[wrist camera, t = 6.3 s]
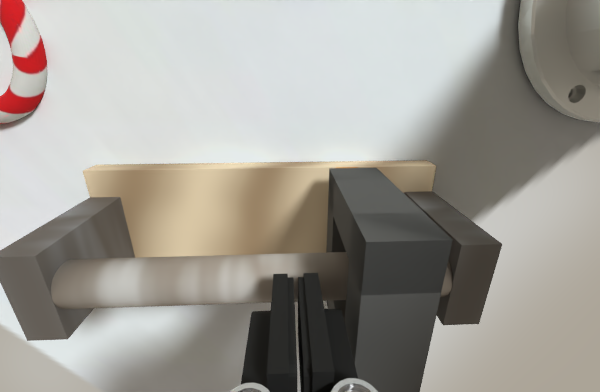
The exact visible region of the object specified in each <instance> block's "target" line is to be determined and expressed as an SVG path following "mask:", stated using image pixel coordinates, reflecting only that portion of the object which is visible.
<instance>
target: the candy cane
mask: <svg viewBox="0 0 600 392" xmlns="http://www.w3.org/2000/svg"><path fill="white" fill-rule="evenodd" d="M0 23H1V24H2V26H3V28H4V31H5V33H6V35H7V38H8V41H9V44H10V48H11V52H12V59H13V74H12V79H11V82H10V85H9V87H8V89H7V91H6V92H5V93H4V94H3V95H2V96H0V124H4V123H9V122H12V121H15V120H18V119H20V118H22V117H25V116H27V115H28V114H30V113H31V112H33V111H34V110H35V108H36V107H37V105H38V104H39V103H40V101H41V99H42V96H43V94H44V91H45V87H46V81H47V60H46V54H45V49H44V45H43V41H42V38H41V36H40V33H39V30H38V28H37V26H36V24H35V22H34V20H33V17H32V16H31V14H30V12H29V11H28V9H27V7H26V6H25V4H24V3H23V1H22V0H0Z"/></svg>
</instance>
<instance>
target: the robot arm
mask: <svg viewBox="0 0 600 392" xmlns="http://www.w3.org/2000/svg"><path fill="white" fill-rule="evenodd" d="M518 30H519V49H520V53H521V57H522V61H523V65H524V69H525V72H526V74H527V76H528V78H529V80H530V82H531V84H532V86H533V88H534V89H535V91H536V92H537V93H538V94H539V95H540V96H541V97H542V99H543V100H544V101H545V102H546V103H547V104H548V105H550V106H551V107H553V108H554V109H556V110H557V111H559V112H560V113H562V114H564V115H567V116H570V117H573V118H576V119H579V120H585V121H592V122H599V123H600V0H521V4H520V13H519V21H518ZM298 341H299V362H300V383H301V392H378V391H377V390H376V389H375V388H374V387H373V386H372V385H371V384H369V383H367V382H365V381H364V380H360V379H358V376H357V372H356V368H355V364H354V360H353V355H352V351H351V347H350V343H349V339H348V335H347V331H346V327H345V322H344V318H343V314H342V311H341V309H324V306H323V300H322V294H321V288H320V282H319V276H318V273H303V277H298ZM230 392H297V357H296V331H295V304H294V278H293V277H288V274H273V287H272V302H271V311H255V312H252V314H251V320H250V327H249V334H248V341H247V347H246V354H245V361H244V368H243V374H242V381H241V385H239V386H237V387H235V388H234V389H232V390H231V391H230Z"/></svg>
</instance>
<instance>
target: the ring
mask: <svg viewBox="0 0 600 392" xmlns="http://www.w3.org/2000/svg"><path fill="white" fill-rule="evenodd" d="M452 241H453V240H452V239H451V238H450V237H449V236H448V235H447V234H446V233H445V232H444V231H443V230H442V229H441V228H440V227H439V226H438V225H437V224H436V223H434V222H433V221H432V220H431V219H430V218H429V217H428V216H427V215H426V214H425V213H424V212H423V211H422V210H421V209H420V208H419V207H418V206H417V205H415V204H414V203H413V202H412V201H411V200H410V199H409V198H408V197H407V196H406V195H405V194H404V193H403V192H402V191H401V190H400V189H399V188H398V187H396V186H395V185H394V184H393V183H392V182H391V181H390V180H389V179H388V178H387V177H386V176H385V175H384V174H383V173H382V172H381V171H380V170H379V169H378V168H329V192H328V219H327V247H326V253H328V252H346V253H347V256H348V259H349V267H348V281H347V295H346V300H327V305H328V309H341V311H342V314H343V318H344V322H345V327H346V331H347V335H348V339H349V343H350V347H351V351H352V355H353V360H354V364H355V368H356V372H357V376H358V379H360V380H364V381H365V382H367V383H369V384H371V385H372V386H373V387H374V388H375V389H376V390H377V391H378V392H420V387H421V383H422V377H423V373H424V368H425V364H426V359H427V355H428V351H429V346H430V341H431V337H432V332H433V328H434V323H435V319H436V314H437V310H438V305H439V300H440V296H441V291H442V287H443V282H444V278H445V273H446V269H447V264H448V259H449V255H450V250H451V246H452Z"/></svg>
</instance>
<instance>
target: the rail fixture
mask: <svg viewBox="0 0 600 392" xmlns="http://www.w3.org/2000/svg"><path fill="white" fill-rule="evenodd" d="M329 168H378V169H379V170H380V171H381V172H382V173H383V174H384V175H385V176H386V177H387V178H388V179H389V180H390V181H391V182H392V183H393V184H394V185H395V186H396V187H398V188H399V189H400V190H401V191H402V192H403V193H404V194H405V195H406V196H407V197H408V198H409V199H410V200H411V201H412V202H413V203H414V204H415V205H417V206H418V207H419V208H420V209H421V210H422V211H423V212H424V213H425V214H426V215H427V216H428V217H429V218H430V219H431V220H432V221H433V222H434V223H436V224H437V225H438V226H439V227H440V228H441V229H442V230H443V231H444V232H445V233H446V234H447V235H448V236H449V237H450V238H451V239H452V240H453V241H452V246H451V250H450V255H449V259H448V264H447V269H446V273H445V278H444V282H443V287H442V291H441V296H440V300H439V305H438V310H437V314H436V315H437V316H438V318H439V320H440V321H441V323H442V324H443V325H457V324H479V322H480V318H481V315H482V311H483V308H484V305H485V301H486V298H487V294H488V291H489V287H490V284H491V281H492V277H493V274H494V270H495V267H496V263H497V260H498V257H499V253H500V250H501V246H502V244H501V243H500V242H499V241H497V240H496V239H495V238H493V237H492V236H490V235H489V234H488V233H487V232H485V231H484V230H483V229H481V228H480V227H479V226H477V225H476V224H475V223H473V222H472V221H471V220H469V219H468V218H467V217H465V216H464V215H463V214H461V213H460V212H459V211H457V210H456V209H455V208H453V207H452V206H451V205H449V204H448V203H447V202H445V201H444V200H443V199H441V198H440V197H439V196H437V195H436V194H435V193H433V192H432V188H433V182H434V177H435V171H436V165H434V164H432V163H430V162H428V161H427V160H423V161H348V162H273V163H198V164H124V165H95V166H93V167H90V168H88V169H86V170H84V171H83V174H84V177H85V181H86V184H87V188H88V191H89V195H90V198H88V199H87V200H85V201H83V202H82V203H80V204H78V205H77V206H75V207H73V208H72V209H70V210H68V211H66V212H65V213H63V214H61V215H60V216H58V217H56V218H55V219H53V220H51V221H50V222H48V223H46V224H44V225H43V226H41V227H39V228H38V229H36V230H34V231H33V232H31V233H29V234H28V235H26V236H24V237H23V238H21V239H19V240H17V241H16V242H14V243H12V244H11V245H9V246H7V247H6V248H4V249H2V250H1V251H0V282H1V285H2V287H3V289H4V291H5V293H6V295H7V297H8V300H9V302H10V304H11V306H12V308H13V310H14V312H15V315H16V317H17V319H18V321H19V323H20V325H21V328H22V330H23V332H24V334H25V336H26V338H27V340H28V341H30V340H56V339H68V338H69V337H70V336H71V335H72V334H73V332H74V331H75V330H76V329H77V328H78V326H79V325H80V324H81V323H82V322H83V321H84V319H85V318H86V317H87V316H88V315H89V314H90V312H91V311H92V310H93V309H94V308H115V307H145V306H175V305H205V304H235V303H265V302H272V287H273V274H288V277H293V278H294V302H295V301H298V277H303V273H318V276H319V282H320V288H321V294H322V300H323V301H325V300H346V295H347V281H348V267H349V259H348V256H347V253H346V252H328V253H326V247H327V219H328V192H329Z"/></svg>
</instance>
